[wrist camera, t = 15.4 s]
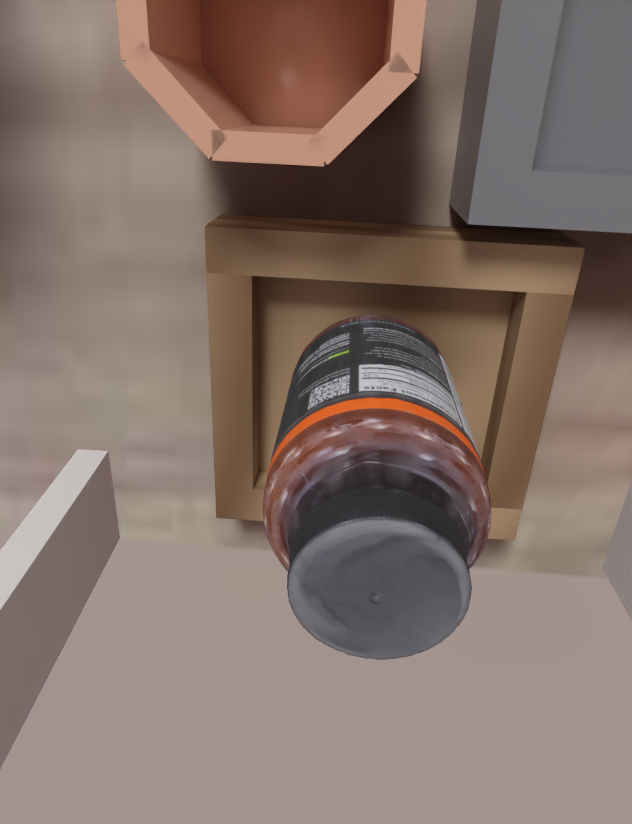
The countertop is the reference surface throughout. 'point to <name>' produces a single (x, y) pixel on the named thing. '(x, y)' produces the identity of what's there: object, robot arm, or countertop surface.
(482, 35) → the tray
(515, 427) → the square wooden tray
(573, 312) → the countertop surface
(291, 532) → the supplement bottle
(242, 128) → the empty cup
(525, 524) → the countertop surface
